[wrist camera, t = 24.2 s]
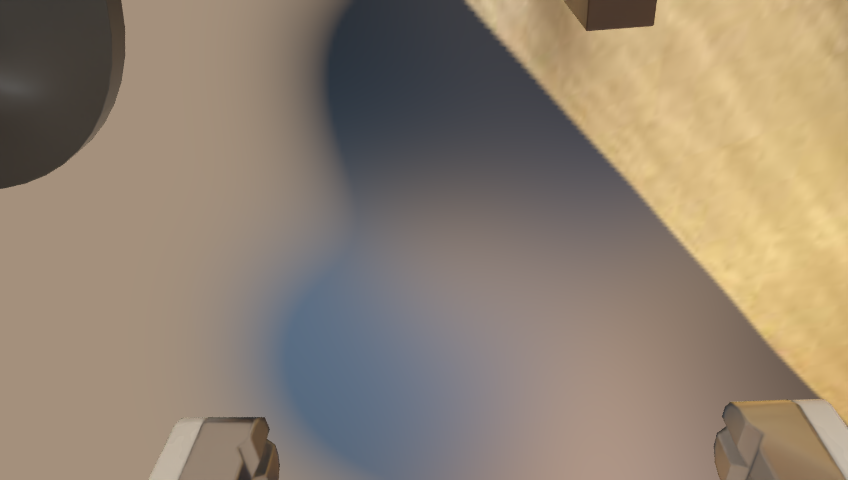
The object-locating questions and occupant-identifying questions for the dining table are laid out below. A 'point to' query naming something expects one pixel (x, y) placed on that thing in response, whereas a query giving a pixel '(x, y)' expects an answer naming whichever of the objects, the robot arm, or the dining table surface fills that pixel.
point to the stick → (613, 13)
